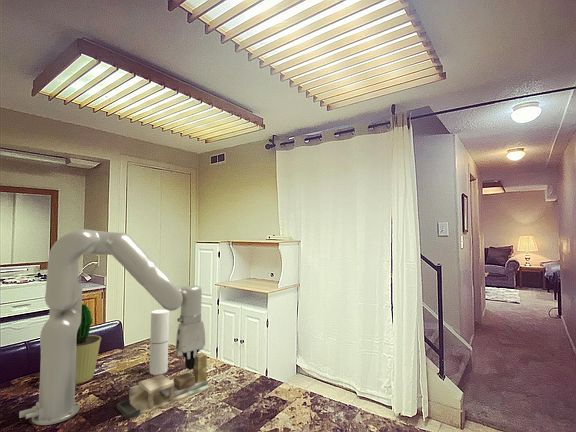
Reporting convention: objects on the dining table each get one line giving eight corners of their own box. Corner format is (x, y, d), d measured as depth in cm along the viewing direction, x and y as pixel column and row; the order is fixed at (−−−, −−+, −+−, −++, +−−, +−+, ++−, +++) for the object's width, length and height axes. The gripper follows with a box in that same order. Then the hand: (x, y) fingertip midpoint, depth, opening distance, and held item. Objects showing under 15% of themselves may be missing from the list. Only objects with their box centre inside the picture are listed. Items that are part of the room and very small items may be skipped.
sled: (166, 398, 115) (167, 367, 115) (159, 393, 119) (160, 363, 119) (208, 383, 127) (208, 355, 127) (200, 379, 131) (200, 351, 131)
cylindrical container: (155, 376, 135) (157, 314, 136) (146, 371, 139) (147, 311, 141) (170, 370, 141) (172, 311, 142) (161, 366, 145) (163, 308, 146)
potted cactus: (108, 371, 140) (110, 299, 141) (81, 388, 124) (85, 307, 126) (74, 369, 141) (77, 298, 143) (44, 385, 126) (47, 306, 128)
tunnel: (127, 419, 104) (127, 398, 104) (116, 408, 110) (117, 388, 111) (210, 388, 125) (210, 370, 125) (196, 380, 132) (197, 363, 132)
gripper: (177, 324, 117) (175, 377, 117) (213, 317, 128) (212, 365, 127) (167, 320, 123) (166, 371, 122) (203, 313, 133) (202, 360, 132)
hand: (189, 368), depth 124 cm, fingers closed
